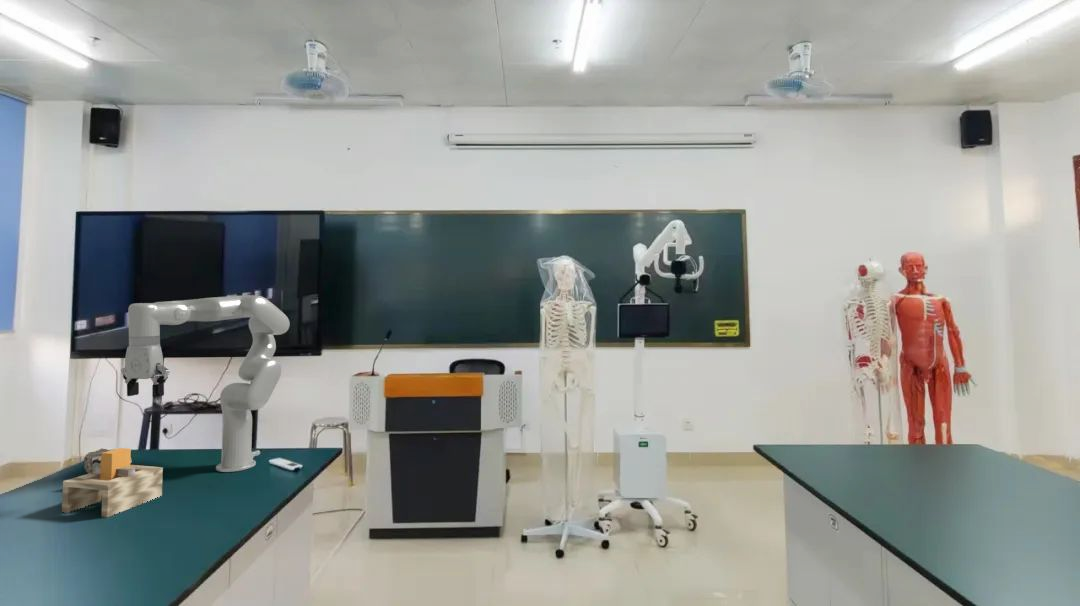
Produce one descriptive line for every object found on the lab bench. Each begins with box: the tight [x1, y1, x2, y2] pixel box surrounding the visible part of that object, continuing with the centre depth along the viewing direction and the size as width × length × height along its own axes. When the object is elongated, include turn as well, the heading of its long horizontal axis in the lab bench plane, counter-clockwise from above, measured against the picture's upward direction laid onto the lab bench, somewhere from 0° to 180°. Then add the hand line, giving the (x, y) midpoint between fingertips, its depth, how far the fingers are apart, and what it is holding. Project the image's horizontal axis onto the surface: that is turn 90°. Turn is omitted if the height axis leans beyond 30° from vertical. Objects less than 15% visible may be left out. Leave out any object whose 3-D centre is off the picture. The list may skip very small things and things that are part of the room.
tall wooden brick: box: [100, 447, 132, 481], centre depth 142 cm, size 5×4×10 cm
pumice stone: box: [83, 448, 111, 474], centre depth 170 cm, size 14×12×8 cm
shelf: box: [61, 464, 164, 518], centre depth 142 cm, size 16×16×11 cm
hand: (145, 395), depth 149 cm, fingers open, 9 cm apart
